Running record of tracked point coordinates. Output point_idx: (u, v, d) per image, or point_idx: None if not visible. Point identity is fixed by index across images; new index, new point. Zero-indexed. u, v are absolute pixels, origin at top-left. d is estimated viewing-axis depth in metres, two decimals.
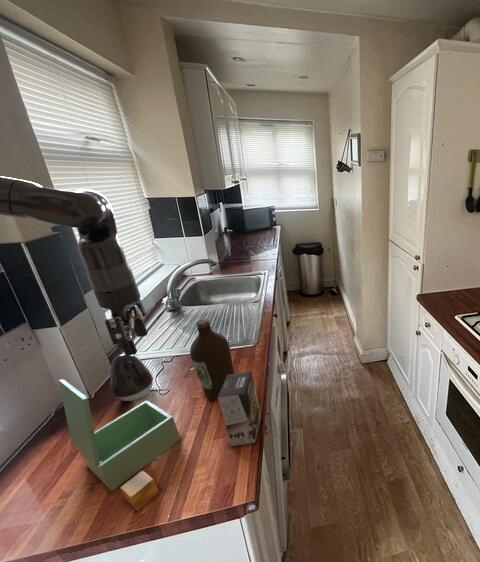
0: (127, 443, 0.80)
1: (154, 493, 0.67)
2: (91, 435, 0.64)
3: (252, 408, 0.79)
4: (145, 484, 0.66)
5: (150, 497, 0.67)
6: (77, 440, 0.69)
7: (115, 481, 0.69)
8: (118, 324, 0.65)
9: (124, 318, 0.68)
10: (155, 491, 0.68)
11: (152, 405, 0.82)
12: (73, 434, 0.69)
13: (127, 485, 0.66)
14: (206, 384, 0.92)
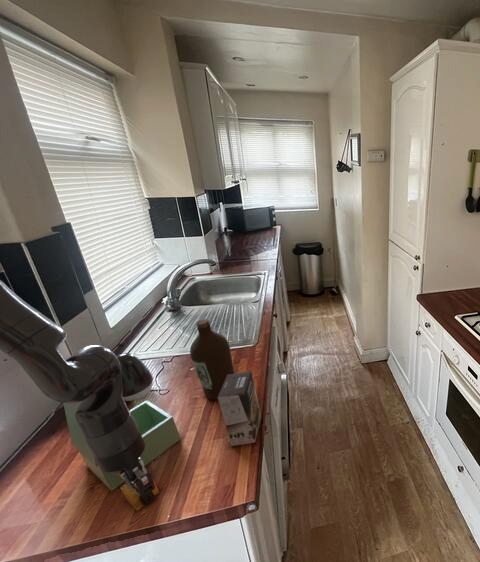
0: None
1: (154, 493, 0.67)
2: None
3: (252, 408, 0.79)
4: None
5: None
6: (77, 440, 0.69)
7: (115, 481, 0.69)
8: (150, 479, 0.62)
9: (142, 468, 0.63)
10: (155, 491, 0.68)
11: (152, 405, 0.82)
12: (73, 434, 0.69)
13: (127, 485, 0.66)
14: (206, 384, 0.92)
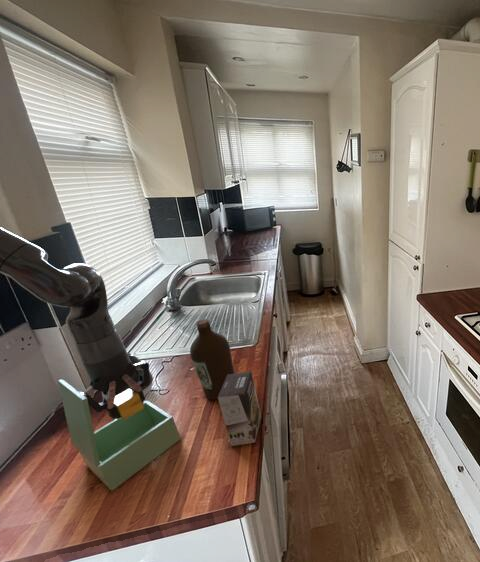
0: (127, 443, 0.80)
1: (121, 416, 0.73)
2: (91, 435, 0.64)
3: (252, 408, 0.79)
4: (115, 403, 0.72)
5: None
6: (77, 440, 0.68)
7: (115, 481, 0.69)
8: None
9: (97, 389, 0.68)
10: (121, 416, 0.72)
11: (152, 405, 0.82)
12: (73, 434, 0.69)
13: (126, 391, 0.75)
14: (206, 384, 0.92)
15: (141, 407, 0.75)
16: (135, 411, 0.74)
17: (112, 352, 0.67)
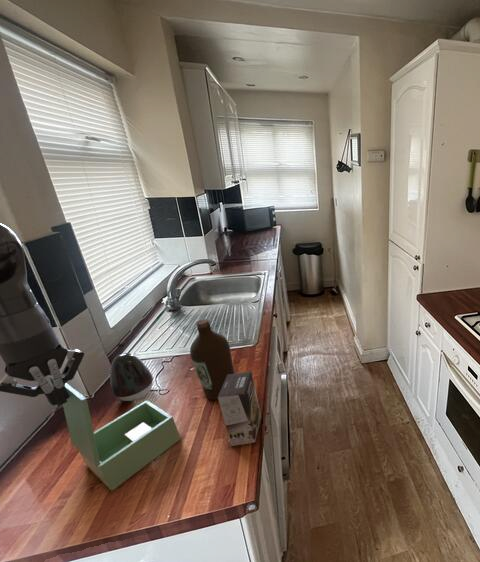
0: (127, 443, 0.80)
1: None
2: (90, 435, 0.64)
3: (252, 408, 0.79)
4: (130, 438, 0.76)
5: None
6: (77, 440, 0.68)
7: (115, 481, 0.69)
8: (5, 391, 0.56)
9: (13, 375, 0.56)
10: None
11: (152, 405, 0.82)
12: (73, 434, 0.69)
13: (141, 425, 0.79)
14: (206, 384, 0.92)
15: None
16: None
17: (30, 331, 0.55)
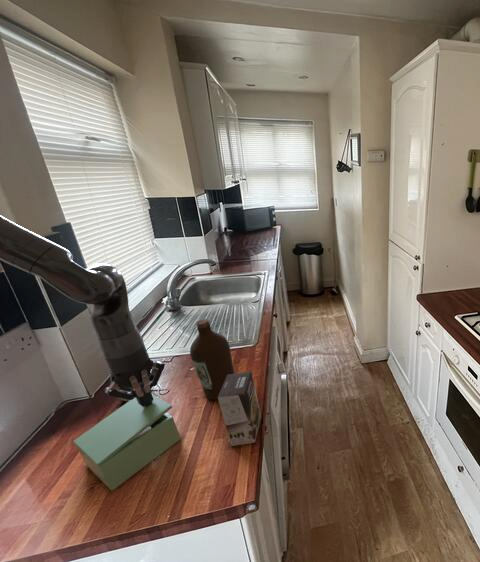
0: None
1: None
2: (135, 434, 0.71)
3: (252, 408, 0.79)
4: None
5: None
6: (95, 438, 0.71)
7: (115, 481, 0.69)
8: (112, 395, 0.71)
9: (118, 383, 0.71)
10: None
11: None
12: (95, 432, 0.73)
13: None
14: (206, 384, 0.92)
15: None
16: None
17: (133, 348, 0.70)
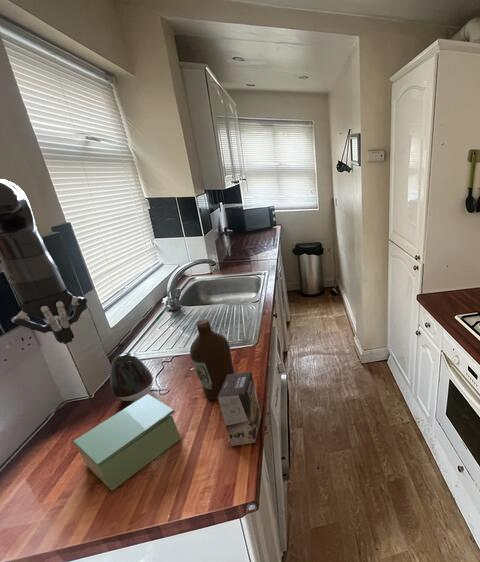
0: None
1: None
2: (137, 436, 0.72)
3: (252, 408, 0.79)
4: None
5: None
6: (96, 438, 0.72)
7: (115, 481, 0.69)
8: (20, 325, 0.66)
9: (27, 312, 0.66)
10: None
11: None
12: (96, 433, 0.73)
13: None
14: (206, 384, 0.92)
15: None
16: None
17: (42, 273, 0.65)
